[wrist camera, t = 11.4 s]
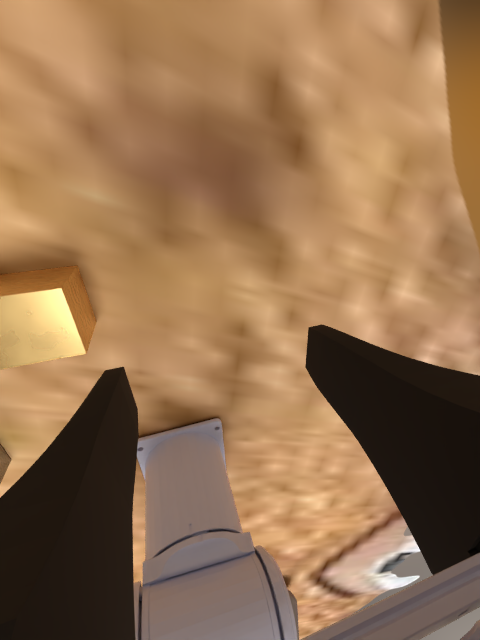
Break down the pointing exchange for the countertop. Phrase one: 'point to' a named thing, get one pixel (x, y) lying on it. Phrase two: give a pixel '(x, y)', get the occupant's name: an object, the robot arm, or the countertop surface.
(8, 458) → the grey piece
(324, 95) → the countertop surface
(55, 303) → the brushed gold cube
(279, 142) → the countertop surface
